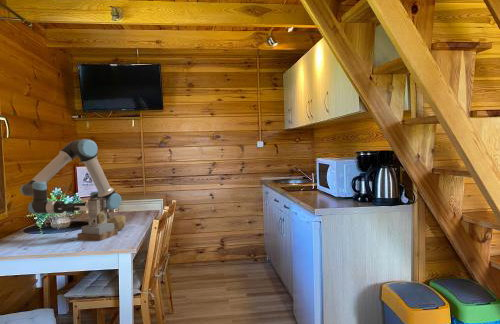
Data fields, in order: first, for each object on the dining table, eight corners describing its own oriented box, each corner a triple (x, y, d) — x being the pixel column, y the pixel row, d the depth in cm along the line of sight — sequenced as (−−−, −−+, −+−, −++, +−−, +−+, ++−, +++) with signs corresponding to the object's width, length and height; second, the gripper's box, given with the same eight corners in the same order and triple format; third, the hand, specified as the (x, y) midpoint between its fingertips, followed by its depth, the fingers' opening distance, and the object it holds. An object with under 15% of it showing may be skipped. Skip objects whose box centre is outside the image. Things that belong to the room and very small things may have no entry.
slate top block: (97, 228, 224) (97, 222, 224) (114, 229, 220) (114, 223, 219) (81, 233, 211) (81, 226, 211) (99, 234, 207) (99, 227, 207)
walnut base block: (96, 234, 225) (96, 228, 225) (117, 235, 221) (117, 229, 221) (77, 240, 210) (77, 233, 210) (100, 242, 206) (100, 235, 205)
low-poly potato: (130, 229, 235) (126, 219, 243) (127, 217, 229) (122, 207, 237) (107, 238, 229) (103, 227, 237) (103, 226, 223) (99, 215, 231)
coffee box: (98, 223, 221) (98, 197, 220) (107, 223, 219) (106, 197, 218) (88, 226, 212) (87, 199, 211) (97, 226, 210) (96, 199, 210)
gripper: (67, 209, 228) (100, 209, 227) (44, 217, 203) (81, 216, 202) (66, 198, 227) (99, 197, 227) (43, 204, 202) (80, 203, 202)
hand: (91, 206), depth 215 cm, fingers open, 13 cm apart
